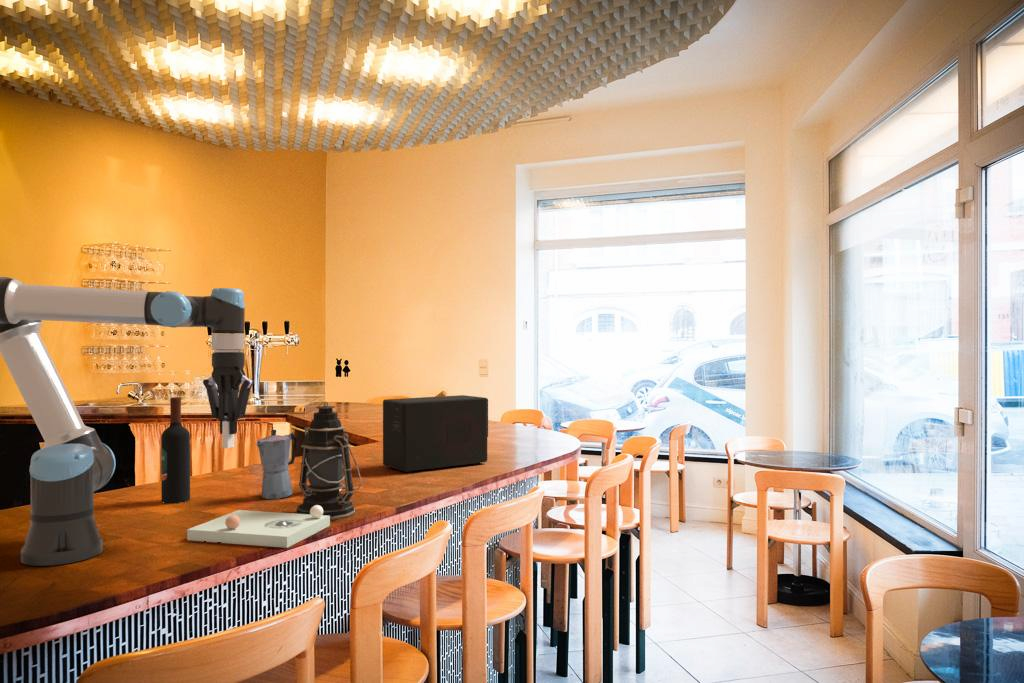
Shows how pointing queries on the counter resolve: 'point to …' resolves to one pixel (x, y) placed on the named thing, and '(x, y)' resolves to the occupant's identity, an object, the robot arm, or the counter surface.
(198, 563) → the counter surface
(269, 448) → the moka pot
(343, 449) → the lantern
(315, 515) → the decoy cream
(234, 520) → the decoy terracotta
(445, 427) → the black rectangular block
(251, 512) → the board
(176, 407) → the wine bottle
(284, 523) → the steel ball
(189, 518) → the counter surface
